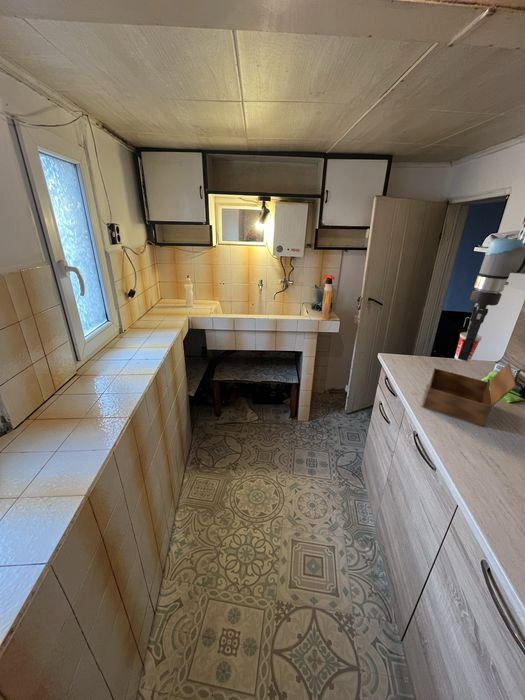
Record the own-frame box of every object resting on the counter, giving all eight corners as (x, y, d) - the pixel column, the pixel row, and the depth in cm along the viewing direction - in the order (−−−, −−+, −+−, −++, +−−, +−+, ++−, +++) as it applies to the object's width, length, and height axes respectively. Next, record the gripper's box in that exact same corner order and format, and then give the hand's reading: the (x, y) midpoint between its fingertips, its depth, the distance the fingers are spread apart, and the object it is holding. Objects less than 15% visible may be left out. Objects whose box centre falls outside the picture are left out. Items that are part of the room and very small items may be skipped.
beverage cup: (477, 362, 97) (492, 324, 91) (461, 363, 96) (475, 324, 90) (463, 355, 102) (476, 318, 96) (448, 355, 101) (460, 318, 96)
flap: (489, 380, 109) (490, 381, 109) (492, 404, 94) (493, 405, 94) (508, 363, 104) (509, 363, 104) (514, 385, 89) (516, 386, 89)
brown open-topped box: (481, 400, 113) (488, 382, 109) (482, 426, 98) (491, 406, 94) (428, 385, 122) (434, 368, 119) (423, 406, 107) (429, 388, 104)
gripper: (503, 298, 80) (474, 369, 90) (502, 288, 94) (477, 350, 104) (471, 293, 84) (447, 362, 94) (475, 284, 98) (453, 345, 108)
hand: (463, 356), depth 99 cm, fingers closed on beverage cup, 6 cm apart
